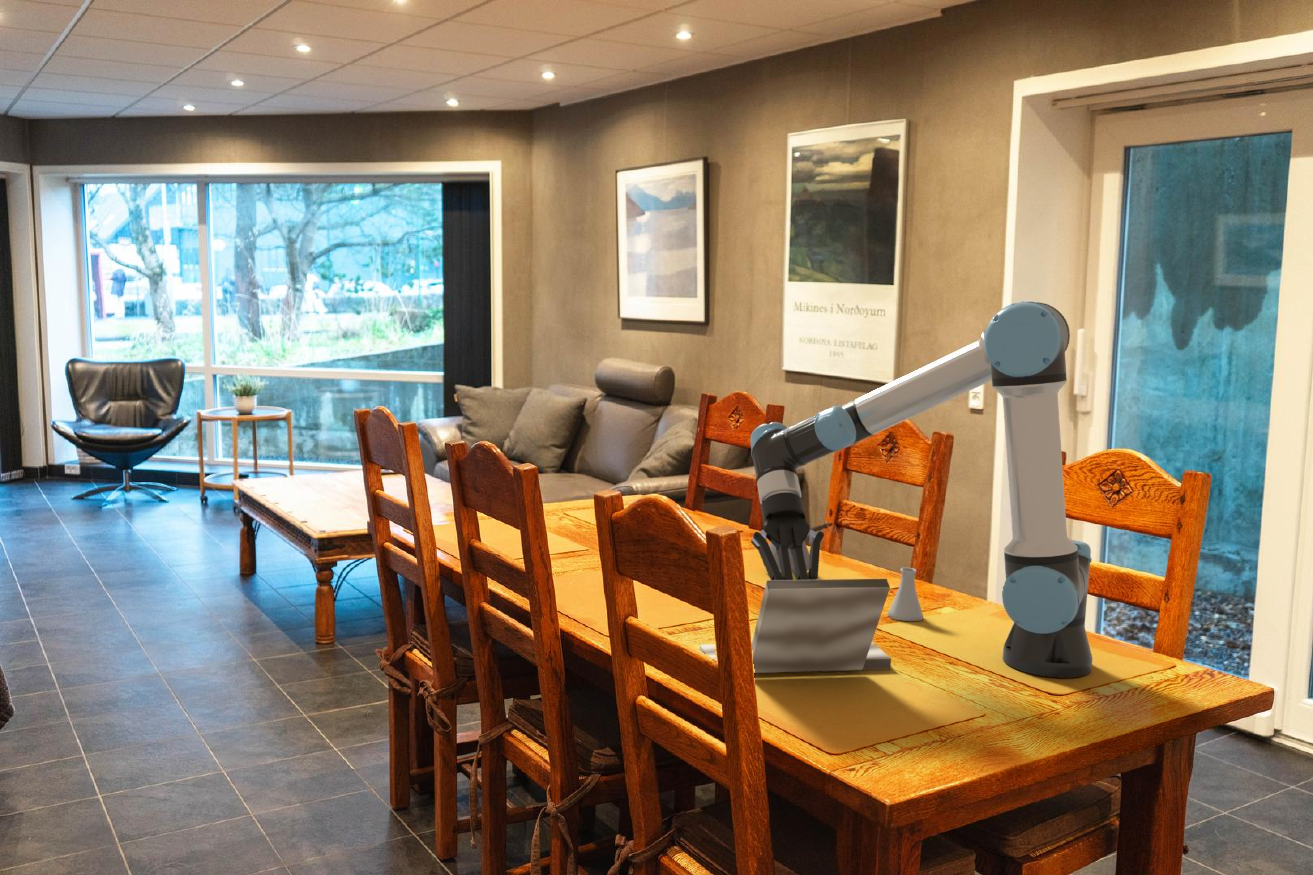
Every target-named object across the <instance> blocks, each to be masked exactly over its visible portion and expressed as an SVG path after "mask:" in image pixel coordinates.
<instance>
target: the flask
mask: <svg viewBox="0 0 1313 875" xmlns="http://www.w3.org/2000/svg"><path fill="white" fill-rule="evenodd" d="M899 570H900V572H901V578H900V582H899V586H898V589H897V591H896V594H895V596H894V599H893V601H892V603H891V605H890V607H889V610H888V613H887V614H886V616H888V617H890V618H891V619H892V620H897V621H905V622H921V621H922V620H923V618H924V614H923V611H922V607H921V605H920V601H919V597H918V593H917V589H916V584H915V577H916V576H915V575H916V573H917V569H915V568H913V567H901V568H900V569H899Z"/></svg>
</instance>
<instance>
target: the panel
mask: <svg viewBox="0 0 1313 875" xmlns="http://www.w3.org/2000/svg"><path fill="white" fill-rule="evenodd" d="M890 586H891V585H890V584H889V582H888V578H846V579H845V578H844V579H843V578H842V579H841V578H840V579H838V578H837V579H832V578H831V579H817V580H797V579H796V580H771V579H769V580H766V583H765V587H764V591H763V596H762V600H761V604H760V607H759V612H758V617H757V621H756V624H755V630H754V633H753V636H752V641H751V643H752V650H753V664H754V669H755V673H756V674H760V673H759V672H790V673H795V672H794V671H824V672H829V671H828V670H859V671H863V670H862V669H863V667H864V664H865V661H866V658H867V655H868V652H869V649H870V646H871V643H872V642H873V640H874V636H875V634H876V631H877V627H878V625H879V621H880V619H881V616H882V612H883V610H884V606H885V605H886V601H887V597H888V595H889V592H890V589H891V587H890Z"/></svg>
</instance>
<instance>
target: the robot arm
mask: <svg viewBox="0 0 1313 875" xmlns="http://www.w3.org/2000/svg"><path fill="white" fill-rule="evenodd" d="M1069 326H1070V325H1069V324H1068V321H1067V319H1066V318H1065V316H1064V314H1062V313H1061V312H1060V311H1059V310H1058V309H1057V308H1055V307H1053V306H1052V305H1050V304H1048V303H1044V302H1038V301H1037V302H1036V301H1020V302H1014V303H1012V304H1009V305H1007V306H1004V308H1002V309H1000V310H999V311H998V312H997V313H996V314H995V315H994V316H993V317H992V318H991V320H990V321H989V323H988V324H987V327H986V329H985V330H983V331H982V332H981V334H980V337H979V339H978V340H975V341H973V342H971V343H970V344H967V345H965V346H963V347H961V348H959V349H957V350H955V351H953V352H951V353H949V354H946V355H945V356H942V357H941V358H938V359H936V360H934V361H932V362H930V363H928V364H926V365H923V366H922V367H920V368H918V369H916V370H914V371H911V372H910V373H908V374H905V375H903V376H901V377H899V378H897V379H895V380H893V381H890V382H889V383H886V384H885V385H882V386H881V387H878V388H876V389H874V390H872V391H870V392H869V393H866V394H864V395H861V396H860V397H858V398H856V399H853V400H851V401H849V402H848V403H847V402H846V403H845V404H843V405H841V406H840V405H834V406H831V407H829V408H826V409H822V410H820V411H818V413H815V414H813V415H811V416H810V417H807V418H805V419H803V420H801V421H799V422H798V423H795V424H794V425H792V426H791V425H790V426H789V427H788V426H786V425H785V424H783V423H781V422H777V421H774V422H770V423H762V424H760V425H758V426H757V427H756V428H754V430H753V431H752V432H751V435H750V447H751V450H750V451H751V457H752V461H753V467H754V472H755V479H756V483H757V484H756V486H757V491H758V498H759V503H760V511H761V512H760V513H761V516H762V517H761V518H762V523H763V525H762V529H761V530H760V531H755V532H754V533H753V534H752V538H751V540H750V543H751V544H752V545H753V546H754V548H755V549H756V550H757V551H758V553H759V555H760V559H761V561H762V563H764V564H763V566H764V565H765V566H764V567H765V569H766V572H767V574H768V576H769V580H793V576H792V570H791V564H790V559H789V553H788V549H790V550H791V555H792V556H793V562H794V567H795V572H796V577H795V578H796V580H818V578H819V564H820V563H819V562H820V554H821V553H820V552H821V551H820V550H821V543H822V540H823V538H824V536H825V533H824V532H823V531H822V530H820V531H816V532H815V531H813V530H811V529H810V528H811V526H810V524H809V523H808V521H807V520H806V519H807V517H806V512H805V509H804V508H805V507H804V501H803V498H802V490H801V487H800V486H801V485H800V480H799V476H798V468H801V467H803V466H807V464H809V463H812V462H815V461H817V460H819V459H821V458H824V457H826V456H828V455H831V454H833V453H836V452H838V451H841V450H844V449H845V448H850V447H852V446H855V445H857V444H858V443H860V442H861V441H863V440H866V439H868V438H870V437H871V436H873V435H874V436H875V435H876V434H878V433H881V432H882V431H885V430H887V429H889V428H891V427H893V426H896V425H898V424H900V423H903V422H904V421H907V420H909V419H911V418H914V417H916V416H917V415H919V414H923V413H924V412H926V411H929V410H930V409H933V408H936V407H937V406H940V405H941V404H944V403H946V402H949V401H950V400H952V399H954V398H955V399H956V398H958V397H959V396H962V395H964V394H965V393H968V392H970V391H973V390H975V389H976V388H979V387H981V386H983V385H986V384H988V383H990V382H991V383H992V384H991V385H992V386H991V387H992V389H994V391H996V392H997V393H998V394H999V395H1001V398H1002V404H1003V406H1002V407H1003V419H1004V432H1005V433H1004V434H1005V449H1006V462H1007V477H1008V490H1009V491H1008V492H1009V505H1010V507H1009V508H1010V518H1011V519H1010V521H1011V522H1010V523H1011V533H1012V534H1011V536H1012V539H1011V541H1010V542H1009V543H1008V544H1007V545H1006V546H1005V547H1004V550H1003V554H1004V555H1003V556H1004V569H1005V581H1004V584H1003V586H1002V591H1001V597H1002V605H1003V607H1004V610H1005V613H1006V614H1007V616H1008V617H1009V618H1010V620H1012V622H1013V624H1012V626H1011V629H1010V631H1009V633H1008V635H1007V637H1006V640H1005V643H1004V644H1003V649H1002V660H1003V662H1004V663H1005V664H1006V665H1008V666H1009V667H1011V668H1014V669H1016V670H1017V671H1021V672H1024V673H1028V674H1030V675H1036V676H1041V677H1046V676H1047V678H1055V677H1057V678H1058V679H1071V678H1080V677H1084V676H1088V675H1089V674H1090V673H1091V672H1092V669H1093V654H1092V651H1091V647H1090V644H1089V639H1088V635H1087V630H1086V623H1085V622H1086V617H1087V616H1086V614H1087V613H1086V612H1087V604H1088V603H1087V602H1088V593H1089V592H1088V591H1089V589H1088V588H1089V579H1090V566H1091V565H1090V564H1091V562H1092V557H1091V553H1092V552H1091V551H1092V550H1091V547H1090V544H1088V543H1086V542H1084V541H1080V540H1075V539H1070V538H1069V537H1068V535H1067V534H1068V531H1067V515H1066V500H1065V498H1066V497H1065V486H1064V470H1063V457H1062V454H1063V452H1062V440H1061V438H1062V437H1061V426H1060V424H1061V423H1060V411H1059V410H1060V409H1059V408H1060V407H1059V396H1058V394H1059V391H1060V390H1062V389H1063V387H1064V386H1065V385H1066V384H1067V382H1068V381H1067V365H1066V364H1067V363H1066V351H1067V350H1068V347H1069V345H1070V338H1071V334H1070V332H1071V331H1070V327H1069ZM807 537H808V543H809V544H810V547H809V555H810V556H809V570H808V571H806V565H805V560H804V555H803V550H802V543H803V542H804V541H806V538H807ZM767 540H768V541H769V542H770V543H772V544H773V545H774V546H775V547H776V552H777V555H778V559H779V565H780V570H779V568H778V565H777V563H776V561H775V558H774V556H773V554H772V551H771V549H770V547H769V545H770V544H769V543H768V541H767ZM780 571H781V572H780ZM1057 678H1056V679H1057Z"/></svg>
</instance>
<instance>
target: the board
mask: <svg viewBox="0 0 1313 875" xmlns="http://www.w3.org/2000/svg"><path fill="white" fill-rule="evenodd" d="M715 644H716V643H714V644H713V643H712V644H711V643H709V644H705V643H704V644H699V652H700V651H701V652H702V653H704V654H706V655H709V656H710V657H711V658H712V659H716V655H715ZM891 663H892V658H891V657H890V656H889V655H888V654H886V652H884V650H882V649H881V648H880V647H879V646H878V645H877V644H876V643H875V642H873V641H872V643H871V646H870V649H869V652H868V655H867V658H866V661H865V664H864V667H863V669H862V670H861V671H879V670H880V671H882V670H883V671H884V670H885V671H886V670H888V671H889V670H891V669H892V668H891V666H892V665H891ZM853 671H855V670H851V671H849V670H828V671H827V672H853ZM858 671H860V670H858ZM793 673H815V672H814V671H813V672H812V671H794V672H793ZM756 674H757V673H755V675H756ZM758 674H779V673H778V672H759V673H758Z"/></svg>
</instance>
